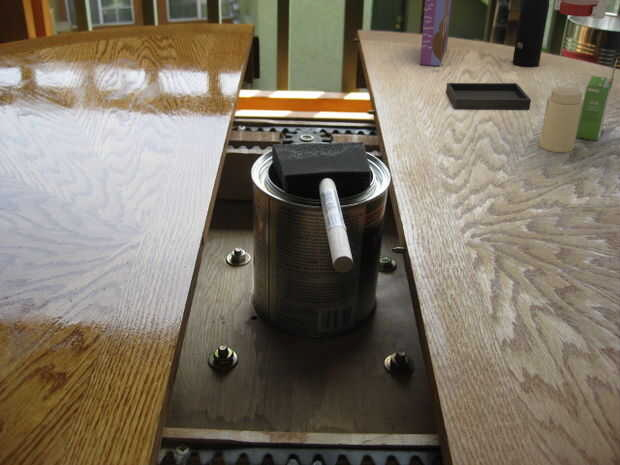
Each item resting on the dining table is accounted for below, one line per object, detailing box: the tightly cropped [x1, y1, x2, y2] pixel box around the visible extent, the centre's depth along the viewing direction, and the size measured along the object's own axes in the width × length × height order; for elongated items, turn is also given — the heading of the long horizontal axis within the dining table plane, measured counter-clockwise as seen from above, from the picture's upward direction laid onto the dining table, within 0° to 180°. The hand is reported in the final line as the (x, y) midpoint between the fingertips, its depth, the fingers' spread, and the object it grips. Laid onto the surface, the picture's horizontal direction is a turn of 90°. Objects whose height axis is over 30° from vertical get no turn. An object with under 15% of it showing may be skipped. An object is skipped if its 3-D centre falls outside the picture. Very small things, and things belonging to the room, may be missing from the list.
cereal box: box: [419, 0, 453, 67], centre depth 164 cm, size 17×5×24 cm, turn 164°
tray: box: [445, 82, 532, 110], centre depth 139 cm, size 15×11×2 cm
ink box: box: [576, 58, 618, 141], centre depth 119 cm, size 7×4×13 cm, turn 152°
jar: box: [539, 86, 583, 153], centre depth 115 cm, size 6×6×10 cm
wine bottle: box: [512, 0, 550, 68], centre depth 157 cm, size 6×6×30 cm
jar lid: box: [558, 0, 600, 18], centre depth 107 cm, size 6×6×2 cm
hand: (578, 14), depth 107 cm, fingers closed on jar lid, 6 cm apart
